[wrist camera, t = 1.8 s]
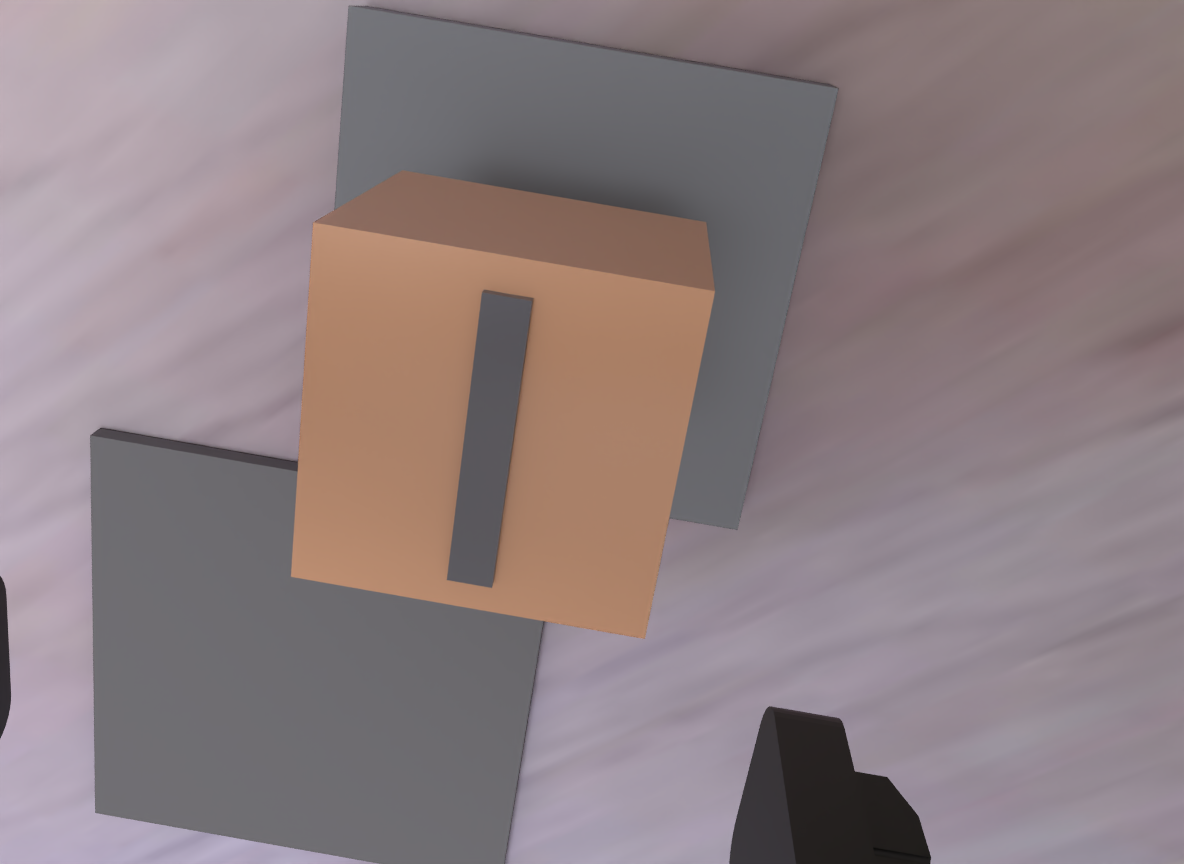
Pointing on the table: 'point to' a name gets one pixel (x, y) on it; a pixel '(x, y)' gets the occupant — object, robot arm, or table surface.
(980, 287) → the table surface
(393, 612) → the rubber mat
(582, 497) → the tan cube
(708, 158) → the grey peg stand
